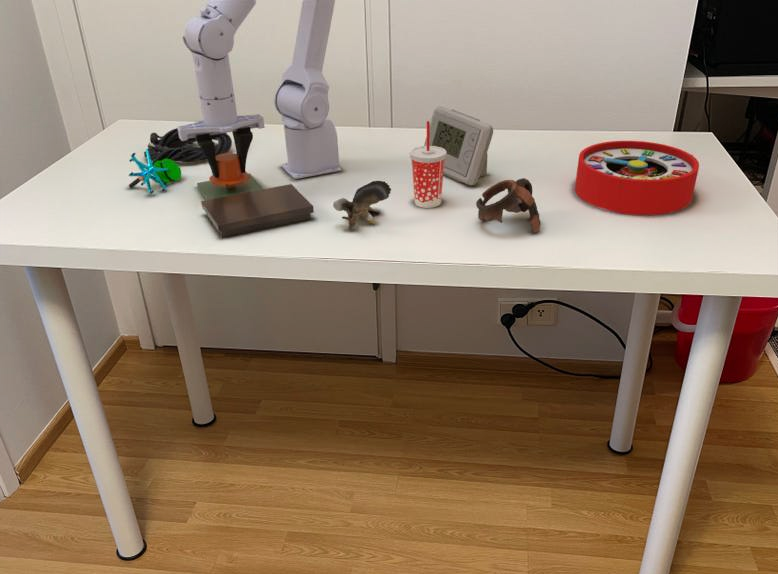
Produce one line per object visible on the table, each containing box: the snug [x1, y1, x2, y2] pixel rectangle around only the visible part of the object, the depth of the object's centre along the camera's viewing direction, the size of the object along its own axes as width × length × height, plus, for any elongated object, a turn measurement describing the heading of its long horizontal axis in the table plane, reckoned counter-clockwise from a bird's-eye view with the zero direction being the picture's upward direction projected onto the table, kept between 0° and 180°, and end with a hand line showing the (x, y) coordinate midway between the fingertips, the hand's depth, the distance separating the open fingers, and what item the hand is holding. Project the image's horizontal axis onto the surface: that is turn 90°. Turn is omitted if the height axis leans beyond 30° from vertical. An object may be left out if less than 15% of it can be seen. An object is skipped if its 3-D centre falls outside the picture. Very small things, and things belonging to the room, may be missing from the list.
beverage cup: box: [409, 120, 446, 209], centre depth 125 cm, size 6×6×14 cm
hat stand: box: [196, 173, 264, 200], centre depth 132 cm, size 10×10×6 cm
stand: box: [200, 183, 315, 239], centre depth 124 cm, size 16×11×2 cm
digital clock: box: [423, 105, 494, 186], centre depth 137 cm, size 16×9×11 cm, turn 23°
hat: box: [208, 152, 250, 186], centre depth 132 cm, size 7×7×4 cm
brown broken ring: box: [475, 177, 541, 234], centre depth 120 cm, size 12×10×8 cm
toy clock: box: [574, 140, 700, 216], centre depth 129 cm, size 20×6×20 cm
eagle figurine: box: [332, 180, 392, 231], centre depth 121 cm, size 8×7×9 cm
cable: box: [143, 127, 233, 163], centre depth 150 cm, size 17×14×4 cm
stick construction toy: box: [128, 149, 182, 195], centre depth 136 cm, size 12×7×8 cm
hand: (228, 173), depth 132 cm, fingers closed on hat, 4 cm apart
